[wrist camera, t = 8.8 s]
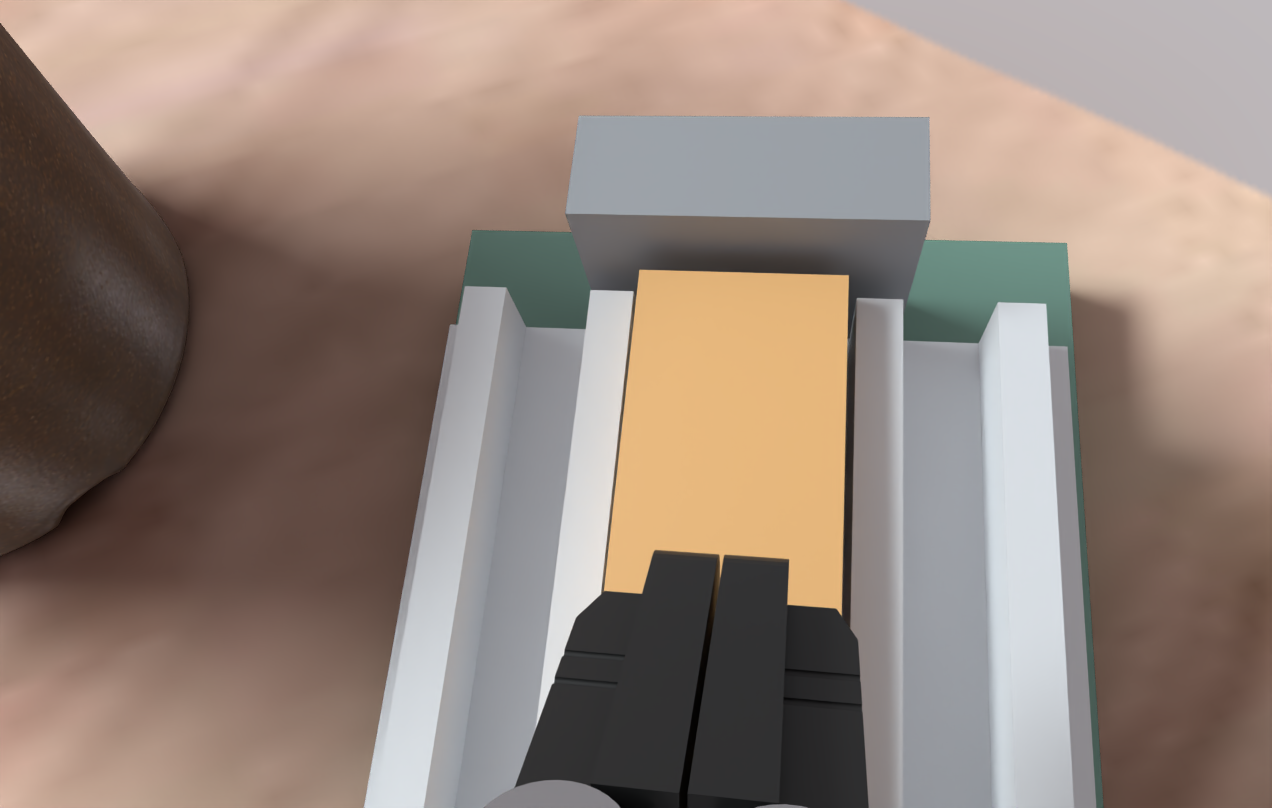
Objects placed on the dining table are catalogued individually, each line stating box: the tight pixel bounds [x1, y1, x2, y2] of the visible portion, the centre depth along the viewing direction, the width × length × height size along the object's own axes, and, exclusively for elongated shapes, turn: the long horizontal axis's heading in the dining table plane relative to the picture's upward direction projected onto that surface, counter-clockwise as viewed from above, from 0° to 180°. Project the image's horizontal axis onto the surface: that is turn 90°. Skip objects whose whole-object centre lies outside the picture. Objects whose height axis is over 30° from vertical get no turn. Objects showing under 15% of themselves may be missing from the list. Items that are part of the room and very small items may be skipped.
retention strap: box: [604, 270, 849, 616], centre depth 15 cm, size 15×4×1 cm, turn 174°
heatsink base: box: [364, 116, 1104, 808], centre depth 18 cm, size 14×22×8 cm, turn 174°
